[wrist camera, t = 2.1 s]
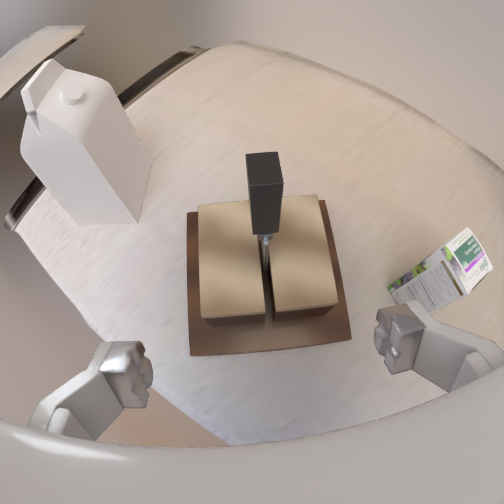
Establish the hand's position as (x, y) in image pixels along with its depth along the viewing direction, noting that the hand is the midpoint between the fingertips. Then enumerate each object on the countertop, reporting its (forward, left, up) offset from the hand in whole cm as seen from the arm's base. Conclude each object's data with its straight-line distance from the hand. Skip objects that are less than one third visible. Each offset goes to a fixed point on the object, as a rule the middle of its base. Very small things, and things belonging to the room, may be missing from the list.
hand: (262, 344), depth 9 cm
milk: (+22, +27, -27) cm, 45 cm away
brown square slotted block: (+11, +1, -27) cm, 30 cm away
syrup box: (+10, -20, -27) cm, 35 cm away
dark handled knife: (+11, +1, -20) cm, 23 cm away
